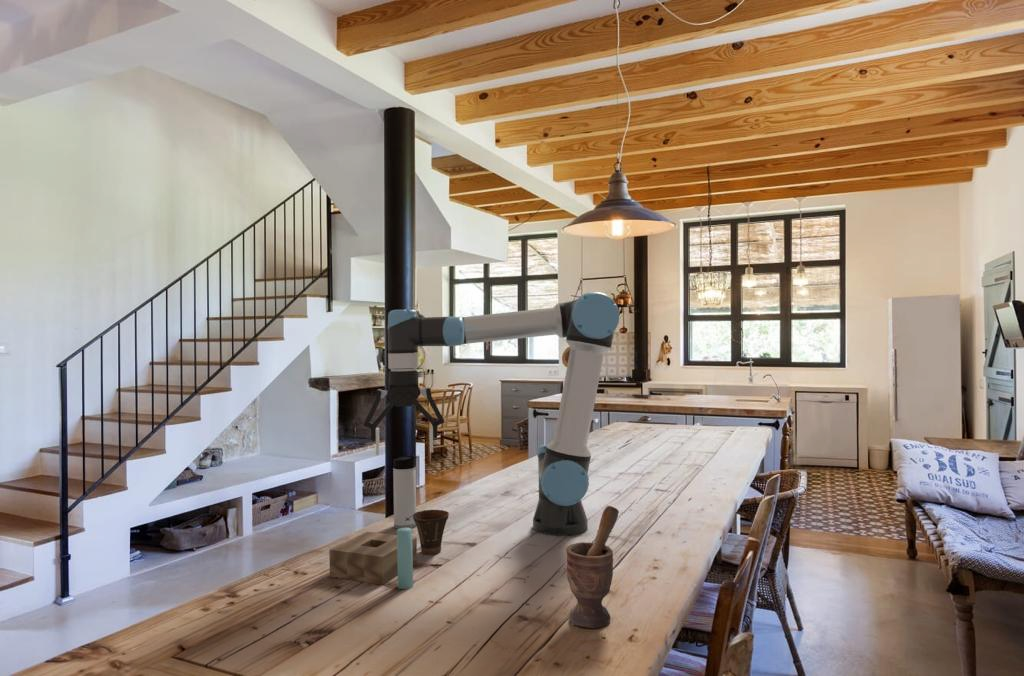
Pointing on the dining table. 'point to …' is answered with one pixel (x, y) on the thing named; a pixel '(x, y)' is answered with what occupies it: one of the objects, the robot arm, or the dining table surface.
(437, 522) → the cup
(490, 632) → the dining table surface
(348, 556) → the socket block
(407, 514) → the travel mug
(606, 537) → the mortar and pestle
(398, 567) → the dowel
